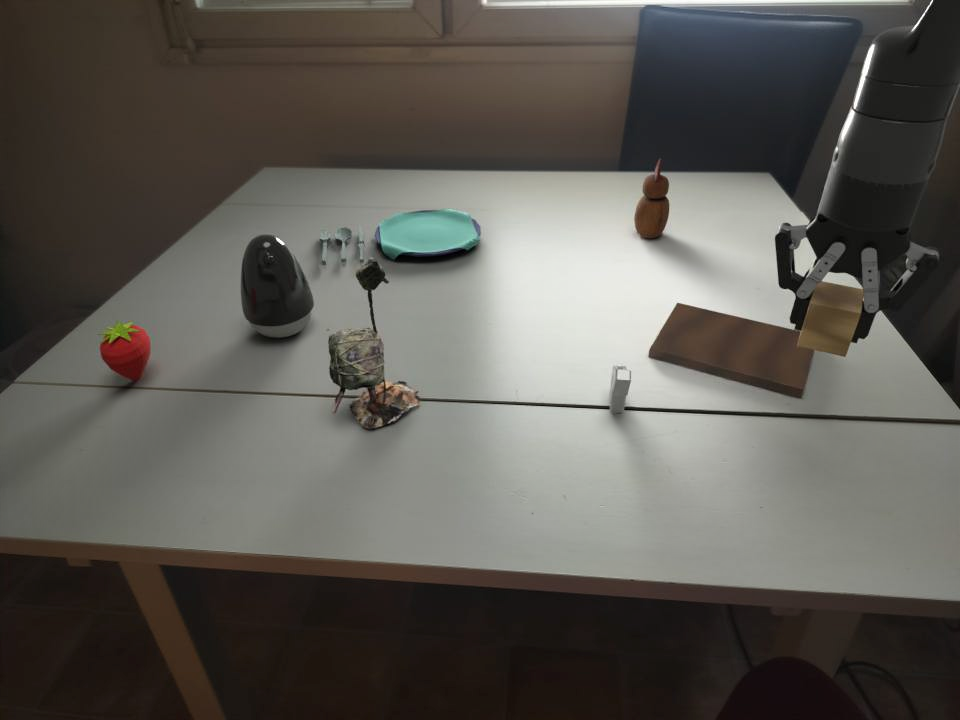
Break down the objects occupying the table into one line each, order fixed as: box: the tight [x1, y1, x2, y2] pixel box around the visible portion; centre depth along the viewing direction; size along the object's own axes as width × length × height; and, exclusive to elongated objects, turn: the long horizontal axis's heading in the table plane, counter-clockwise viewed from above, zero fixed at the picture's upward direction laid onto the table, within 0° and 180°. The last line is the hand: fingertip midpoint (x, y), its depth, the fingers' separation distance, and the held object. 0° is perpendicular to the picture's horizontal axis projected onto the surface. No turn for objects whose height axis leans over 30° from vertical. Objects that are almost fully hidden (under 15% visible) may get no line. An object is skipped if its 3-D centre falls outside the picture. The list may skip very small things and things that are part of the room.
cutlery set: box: [319, 208, 482, 266], centre depth 124 cm, size 20×30×2 cm, turn 99°
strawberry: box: [97, 317, 151, 382], centre depth 88 cm, size 6×8×10 cm
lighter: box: [609, 364, 632, 414], centre depth 82 cm, size 7×2×8 cm, turn 171°
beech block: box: [797, 280, 864, 358], centre depth 66 cm, size 4×5×5 cm
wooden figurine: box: [633, 158, 670, 239], centre depth 121 cm, size 7×6×15 cm
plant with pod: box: [326, 257, 421, 430], centre depth 79 cm, size 8×11×20 cm
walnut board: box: [647, 302, 815, 399], centre depth 94 cm, size 20×14×2 cm
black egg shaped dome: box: [240, 233, 315, 339], centre depth 97 cm, size 10×10×15 cm
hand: (825, 331), depth 67 cm, fingers closed on beech block, 4 cm apart
